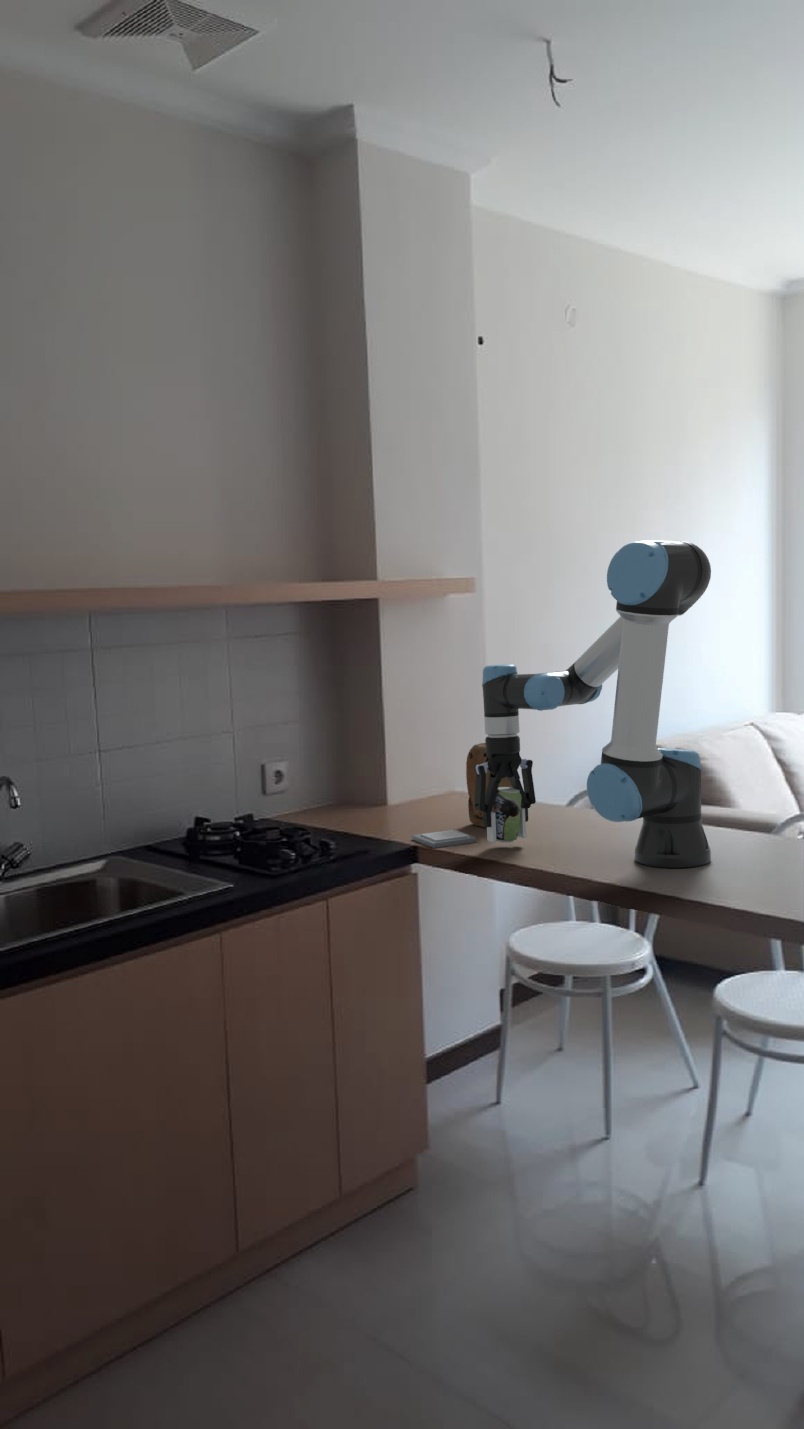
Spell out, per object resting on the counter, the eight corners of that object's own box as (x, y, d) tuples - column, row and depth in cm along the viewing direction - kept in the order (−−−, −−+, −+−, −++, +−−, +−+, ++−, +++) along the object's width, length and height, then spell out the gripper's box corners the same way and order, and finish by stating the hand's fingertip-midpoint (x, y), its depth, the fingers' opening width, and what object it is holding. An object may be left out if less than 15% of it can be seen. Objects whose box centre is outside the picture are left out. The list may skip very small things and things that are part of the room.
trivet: (476, 841, 256) (476, 836, 256) (433, 848, 252) (433, 842, 252) (454, 833, 266) (454, 828, 266) (412, 839, 262) (411, 833, 261)
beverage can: (493, 838, 253) (491, 785, 252) (526, 838, 251) (523, 785, 250) (487, 844, 247) (484, 789, 246) (520, 844, 245) (518, 789, 244)
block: (516, 826, 272) (514, 743, 270) (493, 831, 268) (490, 747, 266) (486, 820, 281) (483, 740, 279) (463, 825, 276) (460, 743, 274)
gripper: (531, 730, 255) (536, 831, 257) (454, 738, 246) (459, 842, 248) (549, 732, 248) (554, 836, 250) (470, 740, 240) (475, 847, 242)
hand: (506, 838), depth 249 cm, fingers closed on beverage can, 7 cm apart
